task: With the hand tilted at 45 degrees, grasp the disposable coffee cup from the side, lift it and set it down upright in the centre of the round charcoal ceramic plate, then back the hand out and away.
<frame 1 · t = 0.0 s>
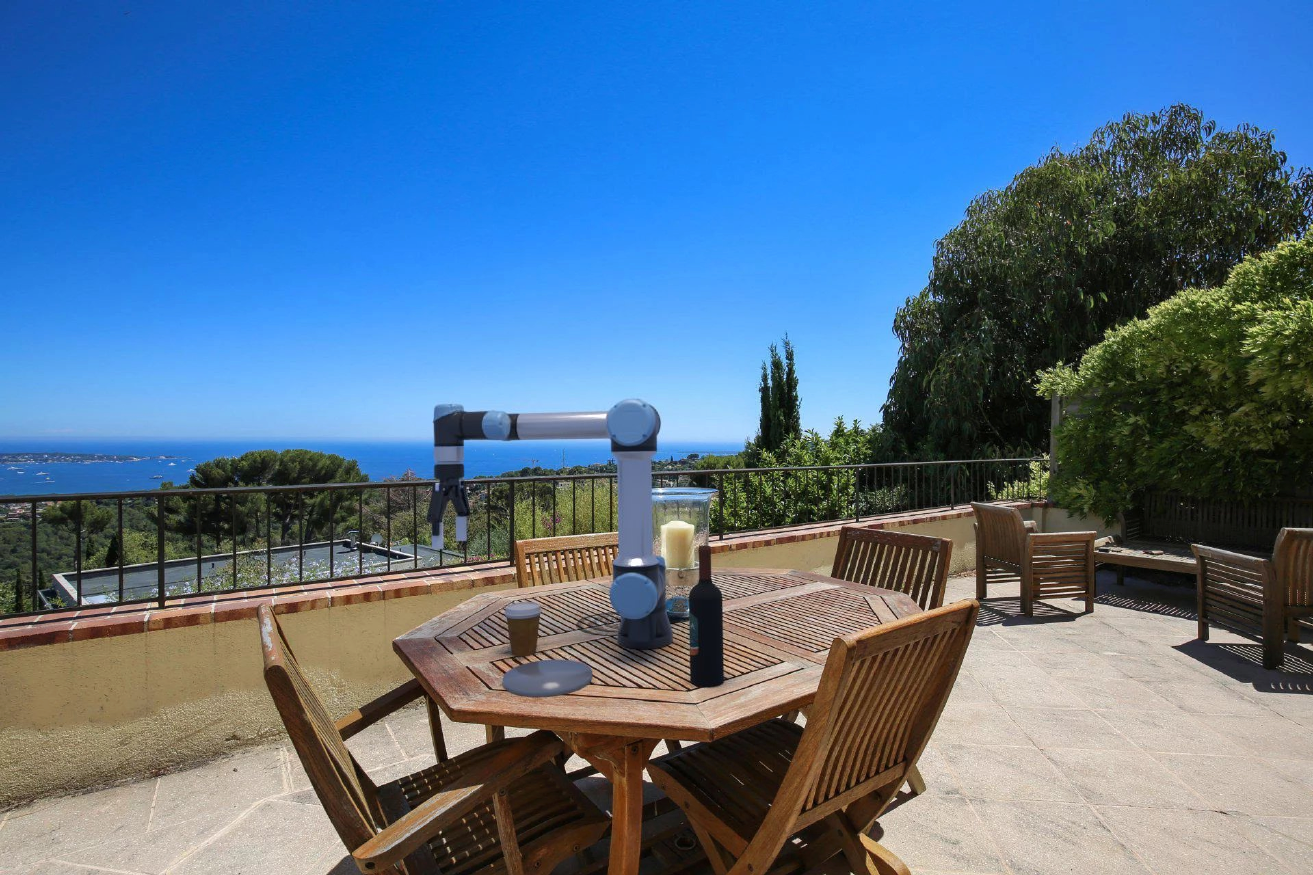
hand: (450, 544, 163), 28 cm above the table, fingers open, 13 cm apart
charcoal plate: (548, 679, 142), on the table
disposable coffee cup: (523, 653, 161), on the table
wine bottle: (707, 681, 139), on the table
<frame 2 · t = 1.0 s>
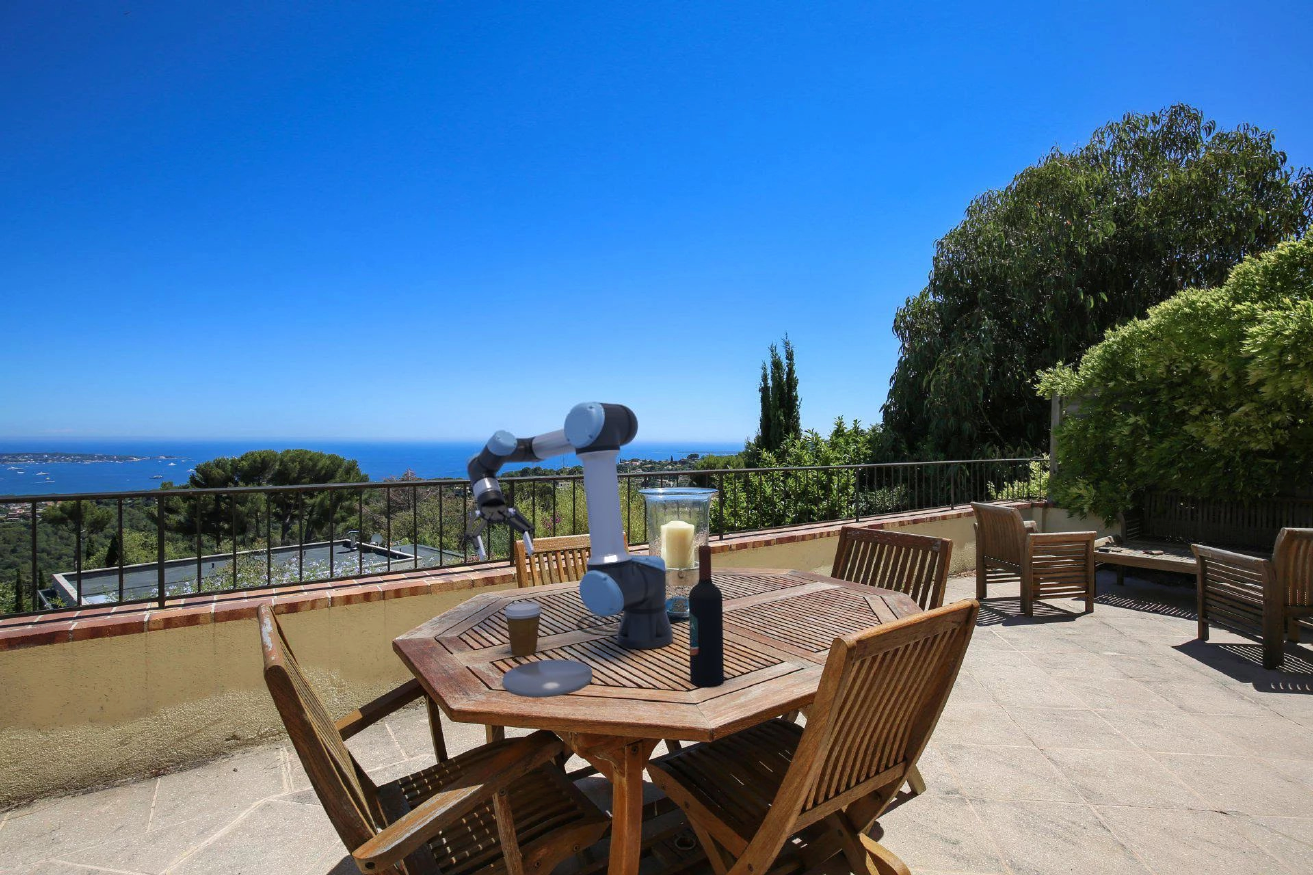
hand: (507, 555, 170), 24 cm above the table, fingers open, 13 cm apart
nothing on the table moved.
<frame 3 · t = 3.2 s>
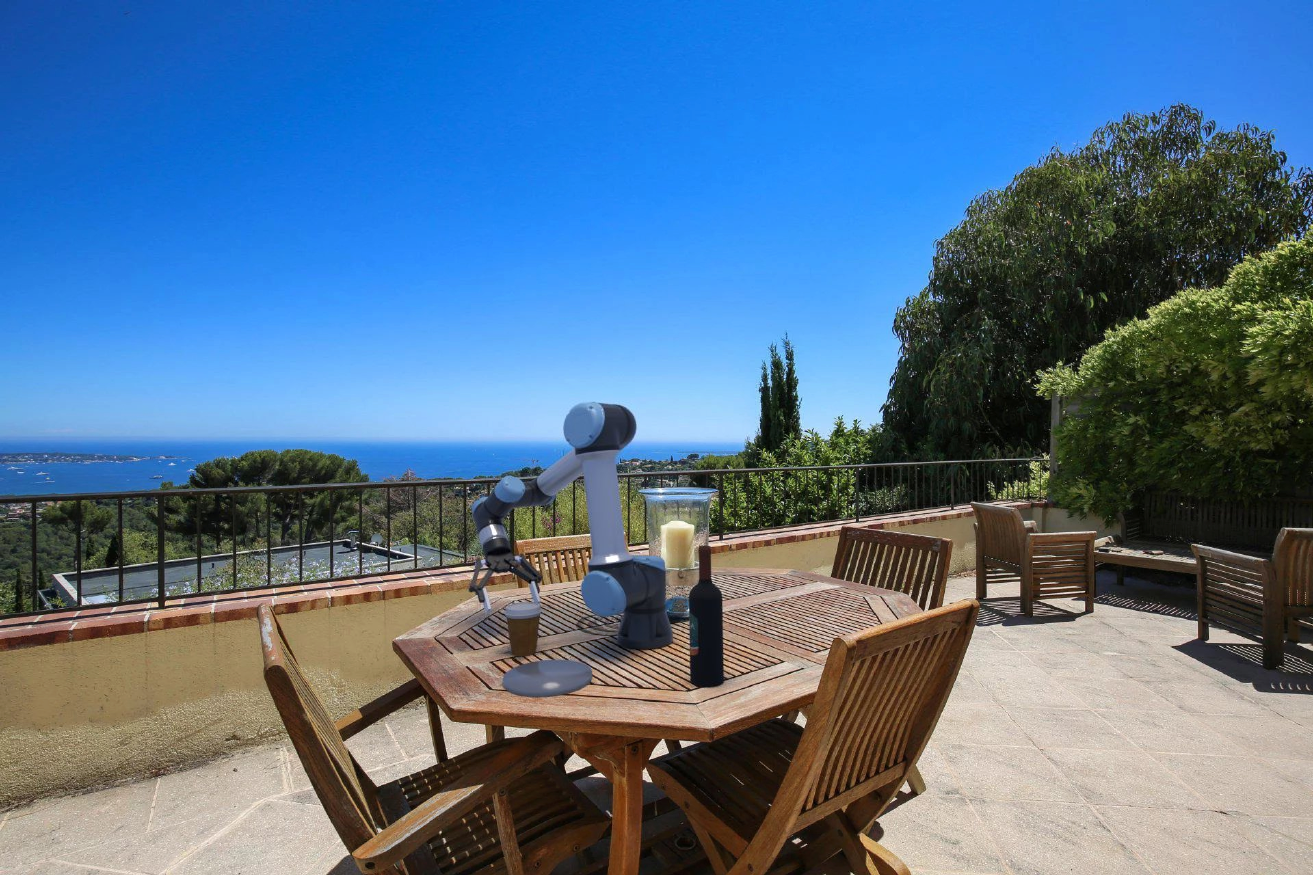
hand: (513, 608, 166), 10 cm above the table, fingers open, 13 cm apart
nothing on the table moved.
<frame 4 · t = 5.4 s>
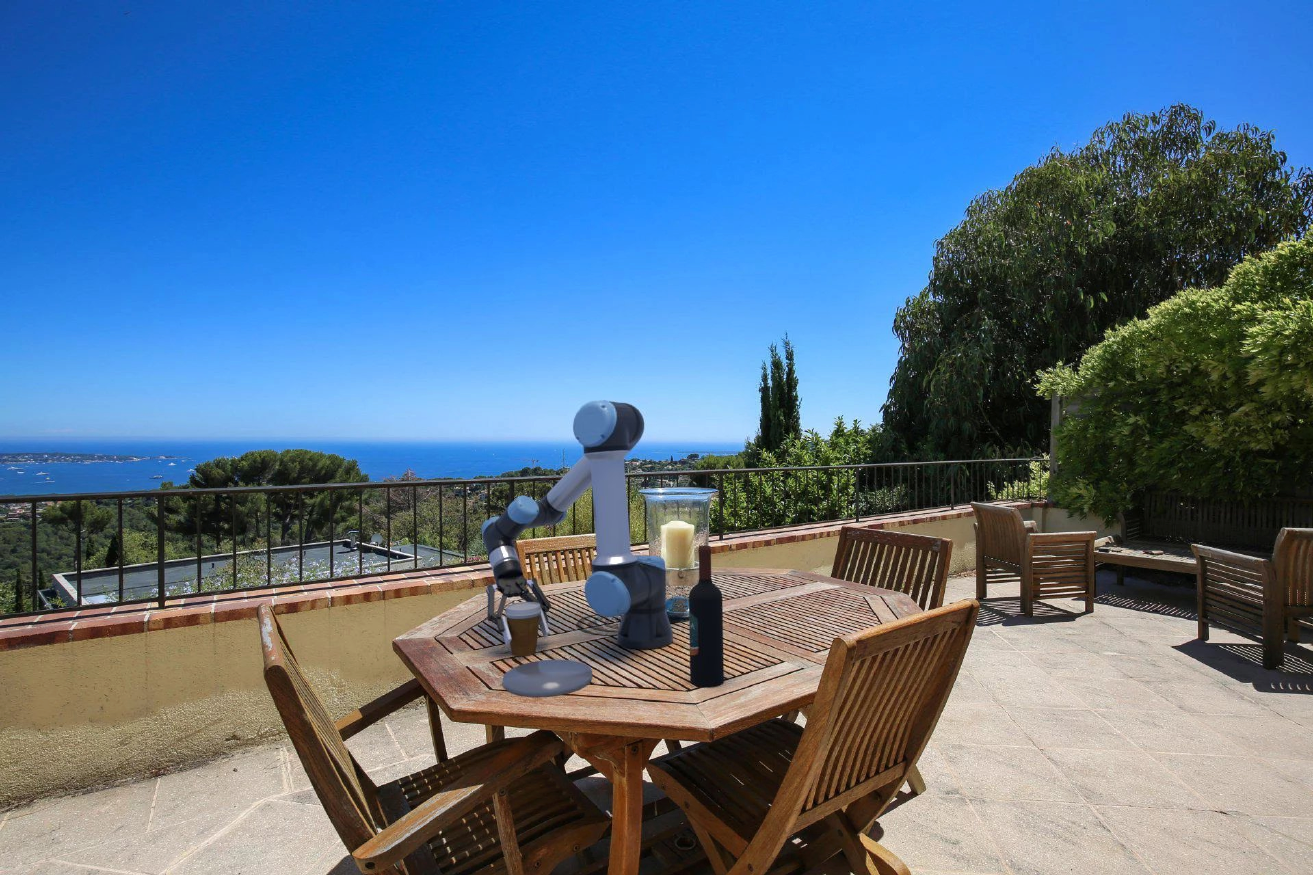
hand: (528, 638, 159), 4 cm above the table, fingers closed on disposable coffee cup, 9 cm apart
disposable coffee cup: (523, 653, 161), on the table, touching gripper
everything else where it was.
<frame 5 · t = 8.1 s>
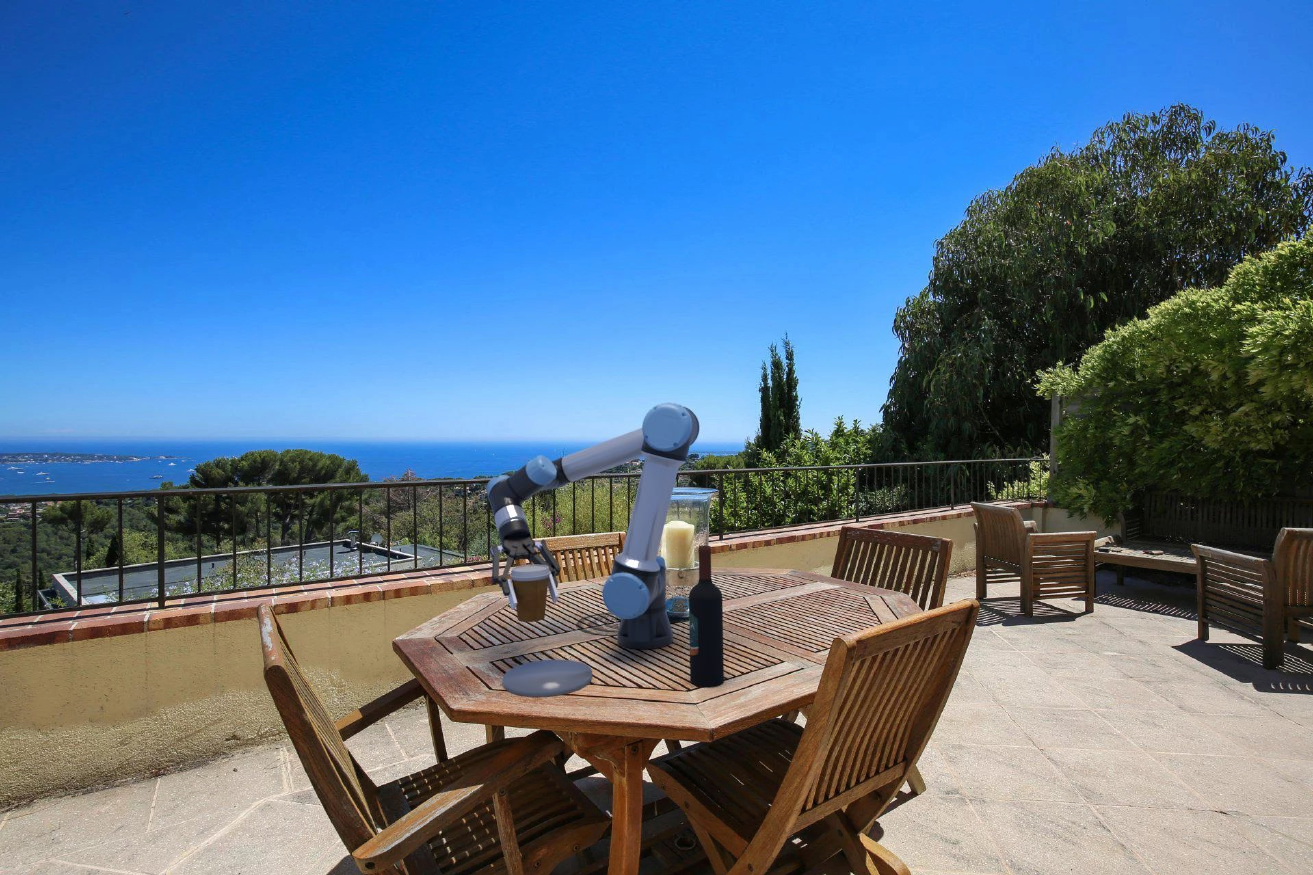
hand: (535, 602, 145), 17 cm above the table, fingers closed on disposable coffee cup, 9 cm apart
disposable coffee cup: (531, 619, 148), point 12 cm above the table, touching gripper
everything else where it was.
when the fingers open (7 cm above the table, at t = 10.9 s): disposable coffee cup drops 2 cm, resting on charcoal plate.
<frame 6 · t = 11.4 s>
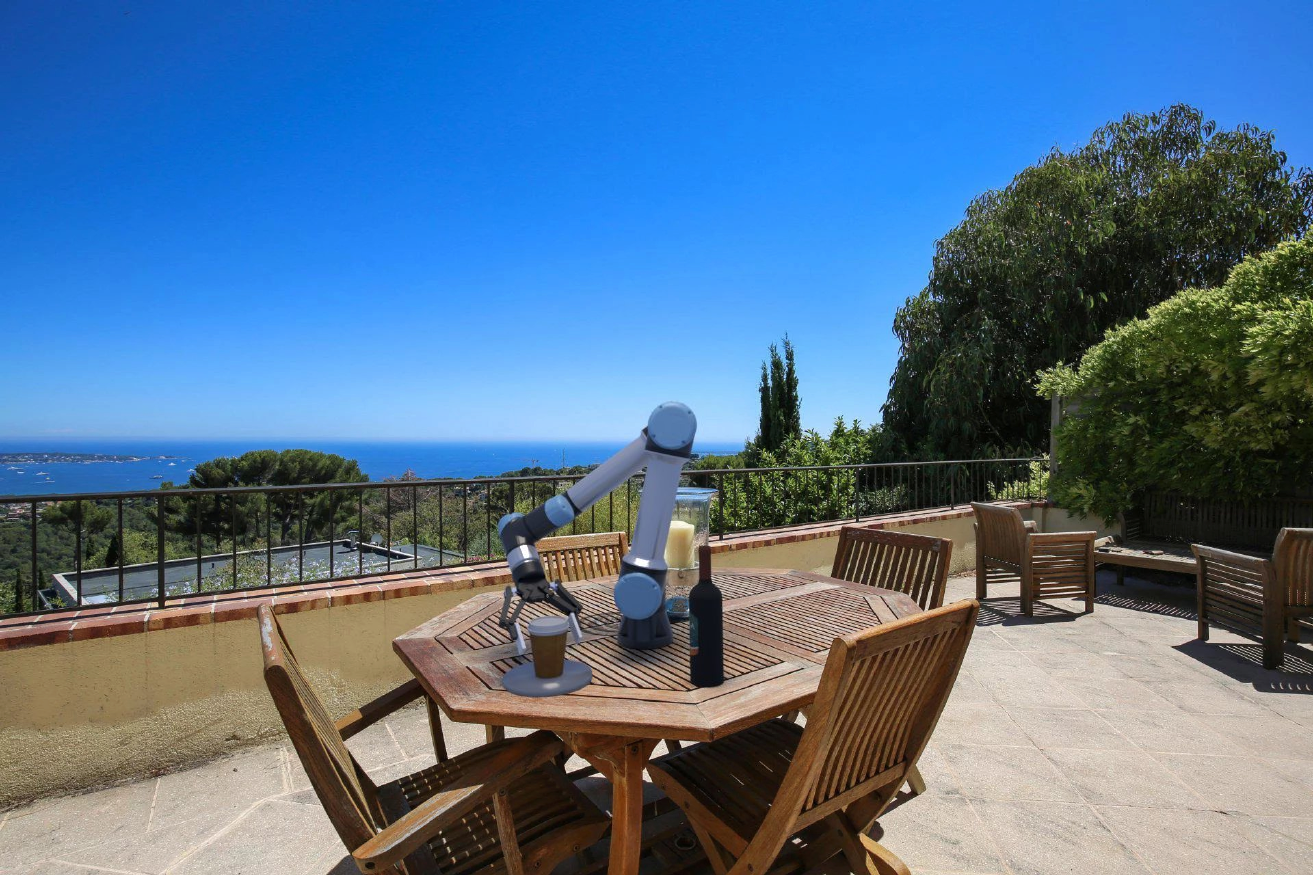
hand: (551, 645, 140), 8 cm above the table, fingers open, 13 cm apart
disposable coffee cup: (549, 674, 142), point 1 cm above the table, touching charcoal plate
everything else where it was.
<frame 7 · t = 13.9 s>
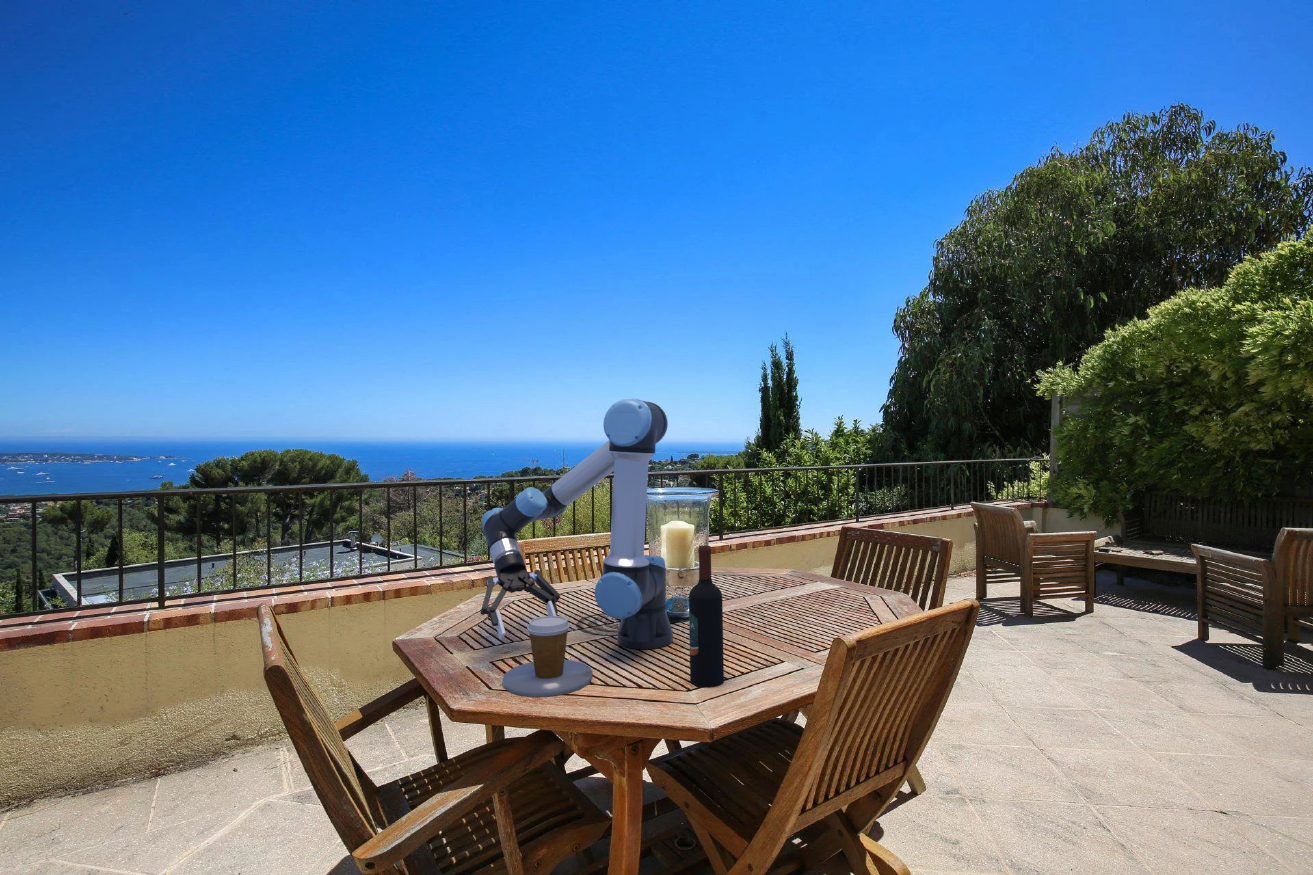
hand: (530, 631, 151), 8 cm above the table, fingers open, 13 cm apart
nothing on the table moved.
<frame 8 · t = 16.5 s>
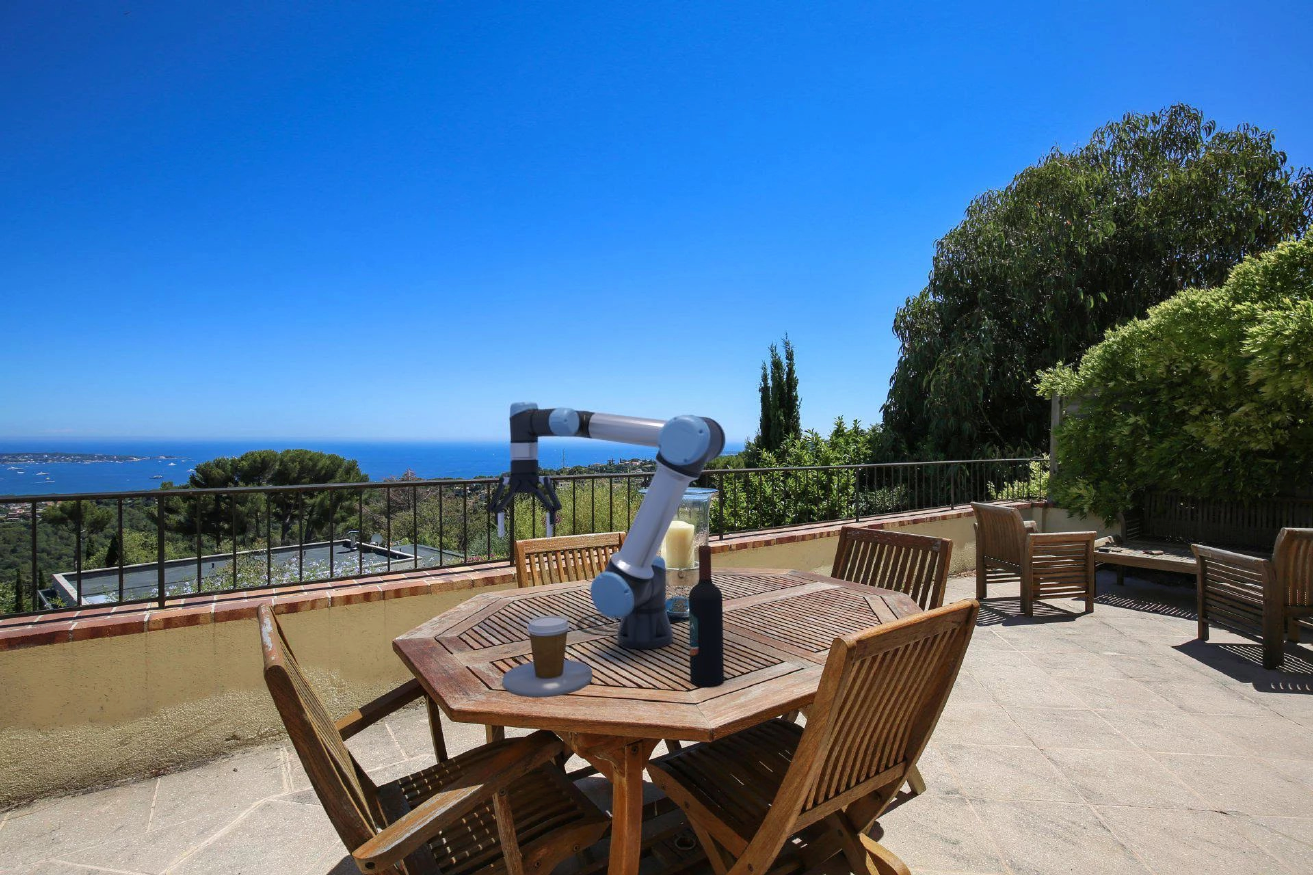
hand: (525, 536, 170), 29 cm above the table, fingers open, 13 cm apart
nothing on the table moved.
at the end: disposable coffee cup inside the target area on the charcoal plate (0.3 cm from its centre), point 1.0 cm above the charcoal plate's base; disposable coffee cup tilted 0°; the gripper is holding nothing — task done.
